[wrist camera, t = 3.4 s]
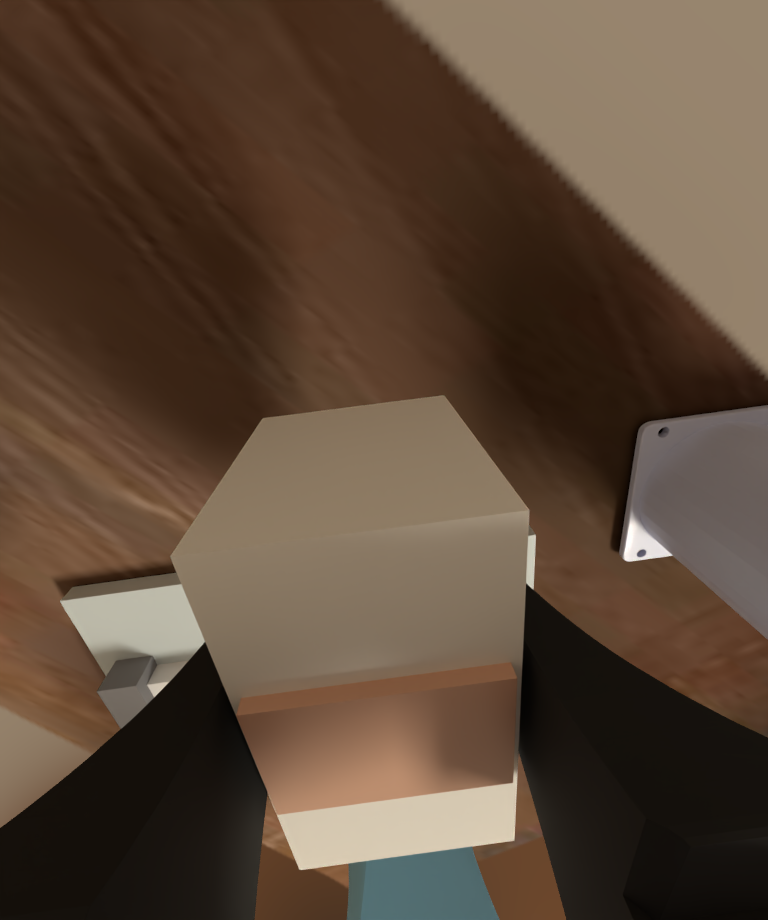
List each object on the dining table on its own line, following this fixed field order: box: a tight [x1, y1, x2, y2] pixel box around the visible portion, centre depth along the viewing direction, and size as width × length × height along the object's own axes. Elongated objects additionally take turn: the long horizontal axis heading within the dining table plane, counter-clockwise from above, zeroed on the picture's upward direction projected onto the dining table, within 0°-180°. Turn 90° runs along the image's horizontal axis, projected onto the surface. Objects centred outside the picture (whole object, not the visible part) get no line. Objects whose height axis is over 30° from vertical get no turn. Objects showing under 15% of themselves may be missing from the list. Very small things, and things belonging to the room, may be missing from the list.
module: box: [170, 395, 529, 870], centre depth 10 cm, size 5×9×6 cm, turn 7°
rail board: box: [60, 526, 536, 729], centre depth 23 cm, size 24×14×3 cm, turn 97°
